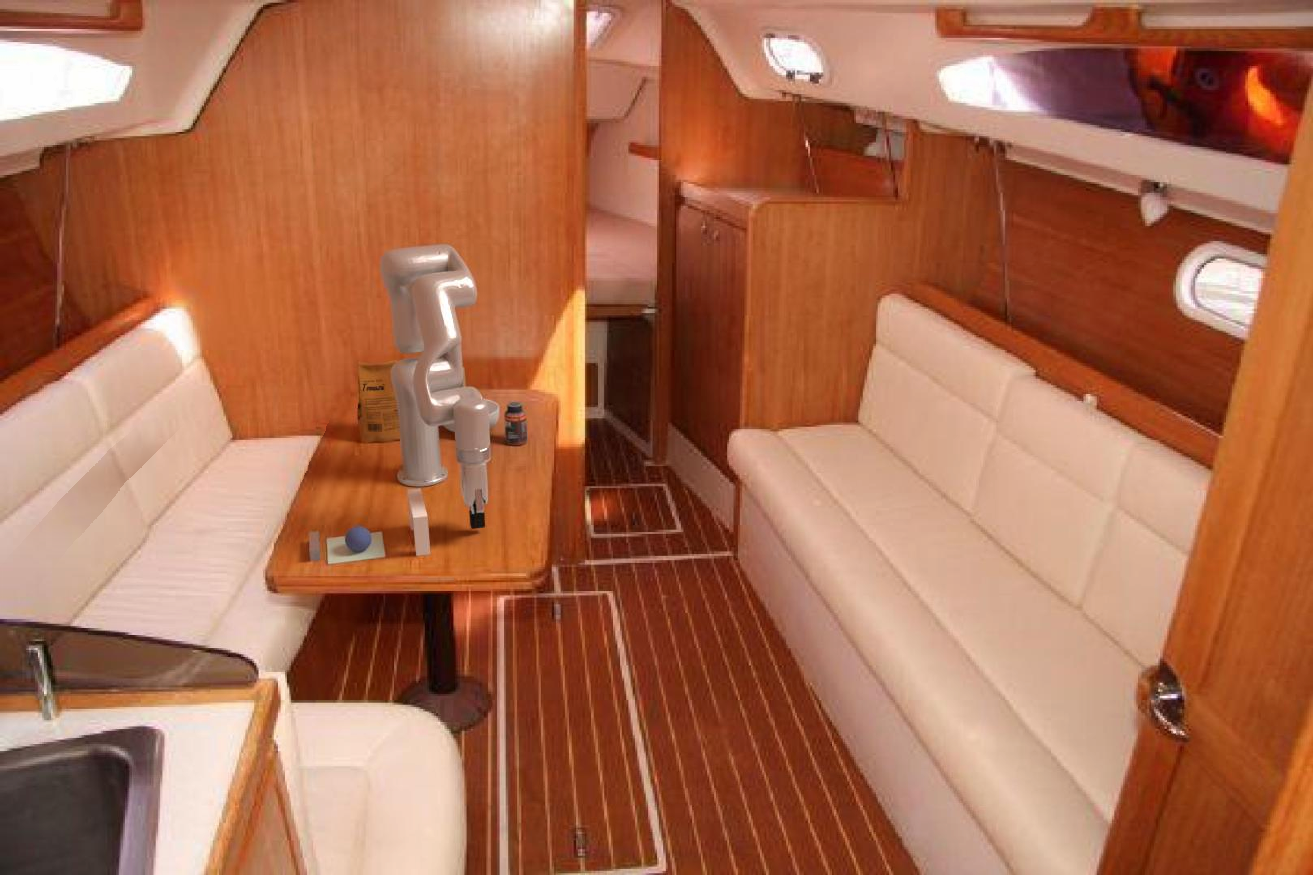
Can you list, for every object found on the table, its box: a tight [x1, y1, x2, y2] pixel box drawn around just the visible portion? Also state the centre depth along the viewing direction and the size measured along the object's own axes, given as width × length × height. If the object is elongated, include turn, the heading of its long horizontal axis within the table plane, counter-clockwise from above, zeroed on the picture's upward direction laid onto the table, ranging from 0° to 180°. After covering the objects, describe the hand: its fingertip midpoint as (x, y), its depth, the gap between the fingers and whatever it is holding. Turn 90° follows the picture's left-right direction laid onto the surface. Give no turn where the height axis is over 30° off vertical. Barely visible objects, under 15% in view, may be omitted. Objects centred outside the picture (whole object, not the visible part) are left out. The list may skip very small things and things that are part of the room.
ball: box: [344, 525, 371, 552], centre depth 228 cm, size 6×6×6 cm
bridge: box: [406, 488, 431, 557], centre depth 232 cm, size 3×15×9 cm, turn 18°
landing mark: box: [326, 531, 386, 566], centre depth 230 cm, size 12×12×1 cm
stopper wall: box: [308, 530, 321, 562], centre depth 228 cm, size 9×2×2 cm, turn 18°
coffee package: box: [356, 359, 400, 444], centre depth 285 cm, size 10×12×22 cm
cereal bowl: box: [442, 398, 500, 433], centre depth 293 cm, size 17×17×7 cm
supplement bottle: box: [503, 401, 528, 447], centre depth 284 cm, size 6×6×11 cm
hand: (477, 526), depth 237 cm, fingers closed
